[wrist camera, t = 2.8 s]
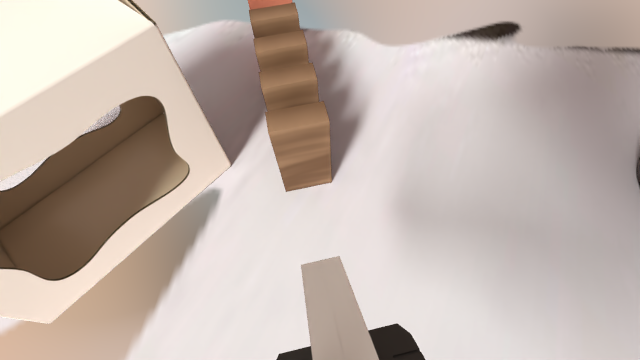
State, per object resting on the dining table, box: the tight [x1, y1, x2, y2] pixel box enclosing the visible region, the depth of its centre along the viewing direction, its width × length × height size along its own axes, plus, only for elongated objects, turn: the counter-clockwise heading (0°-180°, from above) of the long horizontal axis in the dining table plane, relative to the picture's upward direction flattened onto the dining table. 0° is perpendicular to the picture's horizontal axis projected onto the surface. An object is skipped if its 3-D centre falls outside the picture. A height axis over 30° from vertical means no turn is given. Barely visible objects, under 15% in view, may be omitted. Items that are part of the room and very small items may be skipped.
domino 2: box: [249, 3, 300, 38], centre depth 38 cm, size 2×5×10 cm, turn 102°
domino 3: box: [254, 30, 309, 72], centre depth 35 cm, size 2×5×10 cm, turn 102°
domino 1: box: [248, 0, 292, 10], centre depth 40 cm, size 2×5×10 cm, turn 102°
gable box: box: [0, 0, 231, 324], centre depth 22 cm, size 22×13×28 cm, turn 139°
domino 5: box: [265, 101, 332, 192], centre depth 30 cm, size 2×5×10 cm, turn 102°
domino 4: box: [259, 63, 319, 112], centre depth 33 cm, size 2×5×10 cm, turn 102°
